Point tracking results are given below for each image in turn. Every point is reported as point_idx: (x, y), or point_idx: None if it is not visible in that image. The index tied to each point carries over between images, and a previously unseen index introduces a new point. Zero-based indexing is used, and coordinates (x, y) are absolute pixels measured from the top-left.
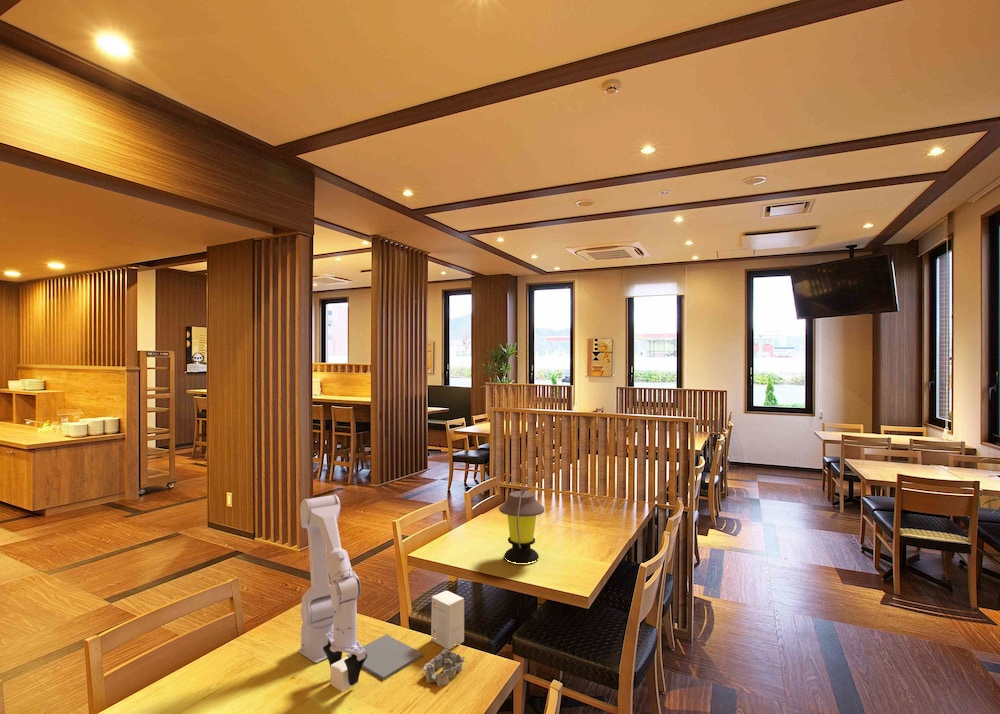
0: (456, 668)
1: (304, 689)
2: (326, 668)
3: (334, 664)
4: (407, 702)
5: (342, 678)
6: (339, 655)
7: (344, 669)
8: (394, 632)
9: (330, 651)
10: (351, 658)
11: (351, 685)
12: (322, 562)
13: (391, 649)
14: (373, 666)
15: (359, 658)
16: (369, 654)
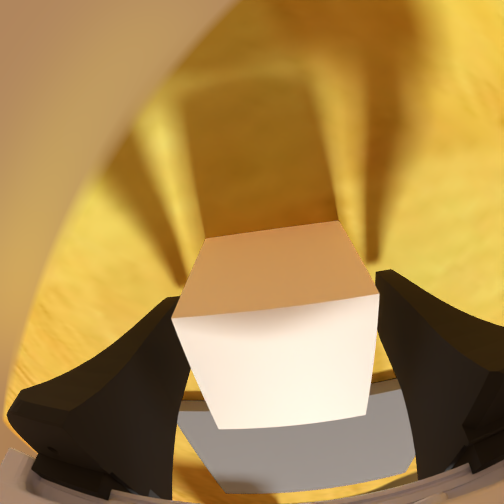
0: None
1: (408, 72)
2: (473, 270)
3: (357, 322)
4: (26, 367)
5: (186, 287)
6: (410, 390)
7: (203, 349)
8: (397, 477)
9: (464, 389)
10: (74, 459)
11: (165, 299)
12: None
13: (321, 472)
14: None
15: (3, 463)
16: (368, 432)
